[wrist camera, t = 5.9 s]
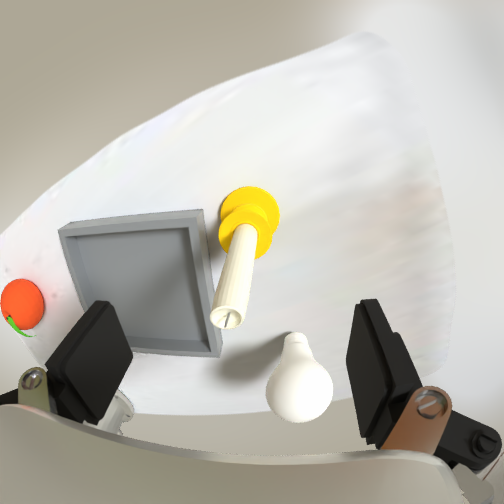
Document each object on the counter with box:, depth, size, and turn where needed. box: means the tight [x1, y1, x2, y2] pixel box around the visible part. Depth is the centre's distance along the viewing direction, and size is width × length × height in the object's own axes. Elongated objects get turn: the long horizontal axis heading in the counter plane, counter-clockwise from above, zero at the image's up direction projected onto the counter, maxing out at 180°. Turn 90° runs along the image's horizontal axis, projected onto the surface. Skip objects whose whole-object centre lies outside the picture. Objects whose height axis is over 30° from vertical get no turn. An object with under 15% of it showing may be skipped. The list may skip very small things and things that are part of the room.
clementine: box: [0, 279, 44, 337], centre depth 28 cm, size 8×7×7 cm
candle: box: [210, 186, 280, 329], centre depth 18 cm, size 5×5×16 cm
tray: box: [58, 209, 223, 358], centre depth 28 cm, size 16×16×2 cm
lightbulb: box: [266, 332, 333, 423], centre depth 26 cm, size 6×6×11 cm
